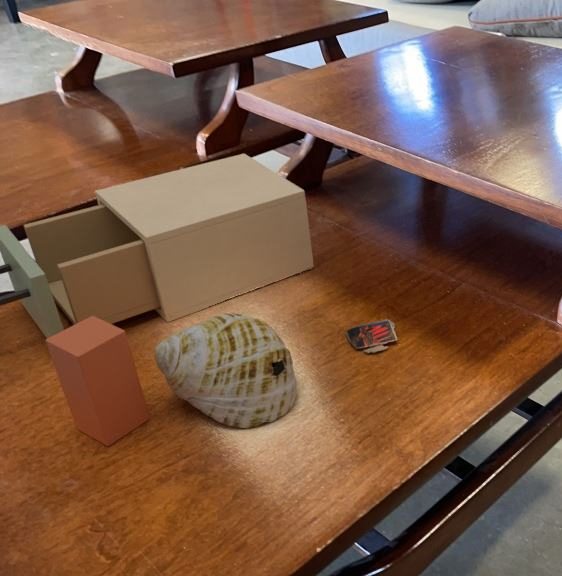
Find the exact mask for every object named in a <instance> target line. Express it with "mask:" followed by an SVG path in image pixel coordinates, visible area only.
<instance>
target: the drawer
mask: <svg viewBox="0 0 562 576" xmlns="http://www.w3.org/2000/svg"><path fill="white" fill-rule="evenodd" d="M23 228H24V231H25V234H26V237H27V240H28V243H29V247H30V249H31V252H32V255H33V256H31V255H30V253H29V252H28V251H27V250H26V248H25V247H24V246H23V245H22V243H21V242H20V241H19V240H18V238H17V237H16V236H15V235H14V233H13V231H11V230H10V228H9V227H8V226H7V224H3V225H0V254H1V258H2V261H3V263H4V264H2V265H0V275H3V274H8V277H9V279H10V282H11V285H12V288H13V290H14V292H11V293H7V294H4V295H1V296H0V307H1V306H4V305H7V304H10V303H14V302H17V301H19V302H20V303H21V305H22V306H23V307H24V309H25V310H26V311H27V313H28V314H29V316H30V317H31V318H32V320H33V321H34V324H36V325H37V327H38V328H39V330H40V331H41V332H42V334H43V335H44V337H45V338H46V339H48V338H50V337H52V336H54V335H56V334H58V333H59V332H61V331H63V330H65V328H64V326H63V322H62V320H61V317H60V314H59V311H58V309H57V306H58V307H59V308H60V310H61V311H62V312H63V313H64V315H65V316H66V317H67V318H68V319H69V321H70V322H71V323H72V326H73V325H75V324H77V323H79V322H81V321H83V320H85V319H87V318H89V317H91V316H95V317H97V318H99V319H101V320H103V321H105V322H107V323H110V324H112V325H114V324H115V323H118V322H121V321H125V320H127V319H129V318H132V317H136V316H138V315H141V314H144V313H146V312H150V311H153V310H155V308H158V307H161V305H160V301H159V297H158V293H157V289H156V285H155V282H154V278H153V274H152V270H151V266H150V262H149V258H148V254H147V250H146V246H145V241H143V240H142V239H141V238H140V237H139V236H138V235H137V234H136V233H135V232H134V231H133V230H131V229H130V228H129V227H128V226H127V225H126V224H125V223H124V222H123V221H122V220H121V219H120V218H118V217H117V216H116V215H115V214H114V213H113V212H112V211H111V210H110V209H109V208H108V207H107V206H105V205H104V204H102V205H98V204H97V205H93V206H91V207H87V208H82V209H80V210H75V211H71V212H68V213H64V214H60V215H56V216H52V217H47V218H45V219H41V220H37V221H33V222H29V223H25V224H23ZM33 257H34V258H33ZM56 304H57V305H56Z"/></svg>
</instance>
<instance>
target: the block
mask: <svg viewBox="0 0 562 576" xmlns="http://www.w3.org/2000/svg"><path fill="white" fill-rule="evenodd" d="M45 344H46V346H47V350H48V352H49V355H50V357H51V361H52V363H53V366H54V369H55V371H56V374H57V378H58V380H59V383H60V386H61V389H62V391H63V395H64V397H65V400H66V403H67V405H68V407H69V411H70V414H71V417H72V419H73V422H74V425H75V427H76V430H78V431H80V432H82V434H83V433H84V434H85V435H87V436H88V437H90V438H92V439H94V440H95V441H97V442H99V443H101V444H102V445H104V446H106V447H109V446H112V445H113V444H114V443H116V442H118V441H119V440H120V439H122V438H123V437H125V436H126V435H128V434H130V433H131V432H133V431H134V430H135V429H137V428H139V427H140V426H141V425H143V424H145V423H146V422H147V421H149V420H150V419H151V416H150V413H149V409H148V406H147V402H146V399H145V395H144V392H143V389H142V384H141V382H140V378H139V374H138V371H137V368H136V367H137V366H136V363H135V361H134V357H133V354H132V350H131V346H130V343H129V340H128V336H127V333H126V331H125V329H123V328H120V327H118V326H116V325H114V324H110V323H107V322H105V321H103V320H101V319H99V318H97V317H95V316H91V317H89V318H87V319H85V320H83V321H81V322H79V323H77V324H75V325H73V324H72V325H71V326H69V327H67V328H66V329H65V328H64V330H63V331H61V332H59V333H58V334H56V335H54V336H52V337H50V338H48V339H47V338H46V339H45Z"/></svg>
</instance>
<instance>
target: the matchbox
mask: <svg viewBox="0 0 562 576" xmlns="http://www.w3.org/2000/svg"><path fill="white" fill-rule="evenodd" d="M395 325H396V324H395V323H394V322H393V321H392V320H390V319H388V318H385V319H382V320H375V321H373V322H372V321H371V322H369V323H365V324H363V323H361V324H357V325H355V326H354V327H352V328H349V329H346V330H345V331H346V332H345V334H346V336H345V338H346V339H347V340H348V341H349V343H350V344H351V345H352V346H353V347H354V349H356V350H357V349H363V352H365V353H366V354H371V353H372V354H375V353H378V352H381V351H384V350H387V349H388V348H389V346H388V345H386V346H385V344H388V343H392V342H395V341H398V337H397V335H396V331H395V330H394V329H395V328H396V326H395ZM365 348H366V349H365Z"/></svg>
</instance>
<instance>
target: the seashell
mask: <svg viewBox="0 0 562 576" xmlns="http://www.w3.org/2000/svg"><path fill="white" fill-rule="evenodd" d="M154 359H155V361H156V362H155V363H156V366H157V368H158V369H159V371H160V372H161V373H162V374H163V375H164V377H165V380H166V382H167V384H168V386H169V388H170V389H171V391H172V392H173V393H174V394H175V395H176V397H178V398H180V399H181V400H184V401H186V402H188V404H189V405H191V406H193V407H194V408H196V409H198V410H199V411H200V412H201V413H203V414H205V415H206V416H208V417H210V418H212V419H213V420H215V421H217V422H219V423H221V424H224V425H225V426H228V427H229V426H230V427H233V428H242V429H243V428H244V429H250V428H256V427H258V426H260V425H262V424H263V423H272V422H274V421H276V420H279V419H280V418H282V417H283V416H284V415H286V414H287V413H288V412H289V411H290V410H291V408H292V407H293V406H294V404H295V401H296V398H297V394H298V384H297V383H298V381H297V377H296V375H295V374H296V373H295V369H294V364H293V357H292V354H291V352H290V350H289V349H288V348H287V347H286V345H285V342H284V339H282V338H281V337H280V335H279V333H278V332H276V330H274V328H272V326H270V325H269V324H268V323H267V322H266V321H263V320H261V319H259V318H255V317H252V316H250V315H244V314H240V313H231V312H230V313H222V314H219V315H215V316H212V317H209V318H207V319H205V320H204V321H201V322H198V323H196V324H194V325H192V326H189V327H186V328H183V329H180V330H178V331H177V332H175V333H173V334H172V335H171V336H169V337H166V338H164V339H163V340H162V341H161V342H160V343H158V344H157V345H155V348H154Z"/></svg>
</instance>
